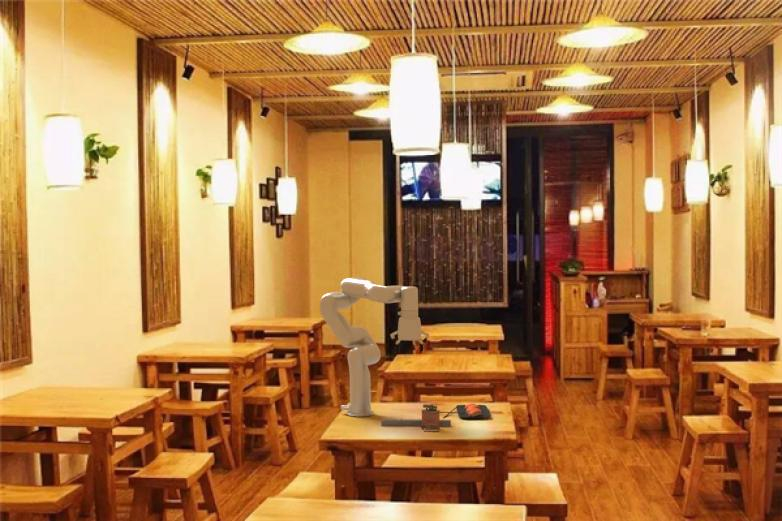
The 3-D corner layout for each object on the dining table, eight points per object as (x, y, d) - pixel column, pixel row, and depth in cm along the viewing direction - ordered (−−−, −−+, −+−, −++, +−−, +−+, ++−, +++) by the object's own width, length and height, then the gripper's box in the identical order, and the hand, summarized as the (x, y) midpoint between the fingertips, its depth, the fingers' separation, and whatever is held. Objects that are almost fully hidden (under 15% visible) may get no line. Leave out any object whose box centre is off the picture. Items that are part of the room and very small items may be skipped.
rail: (381, 425, 371) (381, 418, 371) (381, 424, 374) (381, 417, 374) (450, 426, 369) (450, 419, 369) (450, 425, 371) (450, 418, 371)
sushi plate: (491, 421, 381) (491, 412, 381) (424, 421, 382) (424, 413, 382) (485, 408, 410) (485, 400, 410) (423, 408, 411) (423, 400, 411)
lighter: (440, 427, 365) (440, 404, 364) (438, 429, 361) (438, 405, 361) (422, 426, 367) (422, 403, 367) (420, 428, 364) (420, 404, 364)
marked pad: (423, 431, 359) (423, 430, 359) (425, 426, 370) (425, 424, 370) (438, 431, 358) (438, 430, 358) (439, 426, 369) (439, 425, 369)
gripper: (389, 315, 376) (389, 354, 376) (428, 315, 374) (429, 354, 375) (390, 313, 383) (391, 351, 384) (429, 313, 382) (429, 352, 382)
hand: (409, 353), depth 379 cm, fingers open, 9 cm apart
